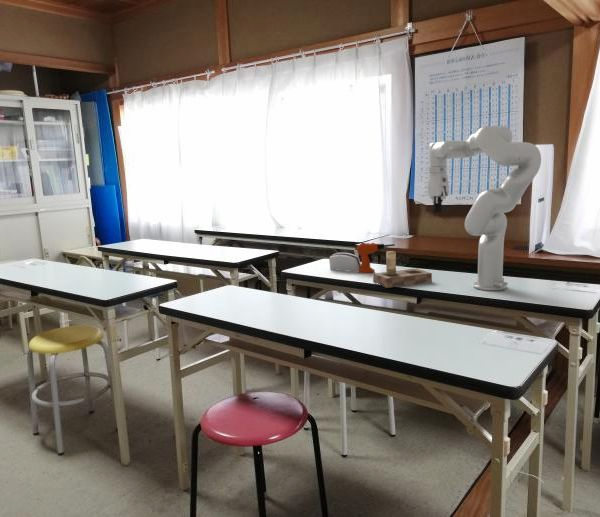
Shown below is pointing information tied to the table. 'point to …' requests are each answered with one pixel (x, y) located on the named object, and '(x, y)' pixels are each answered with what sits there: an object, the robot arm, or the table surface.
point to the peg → (391, 263)
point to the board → (403, 278)
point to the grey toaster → (344, 262)
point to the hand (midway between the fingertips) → (437, 212)
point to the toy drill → (366, 258)
